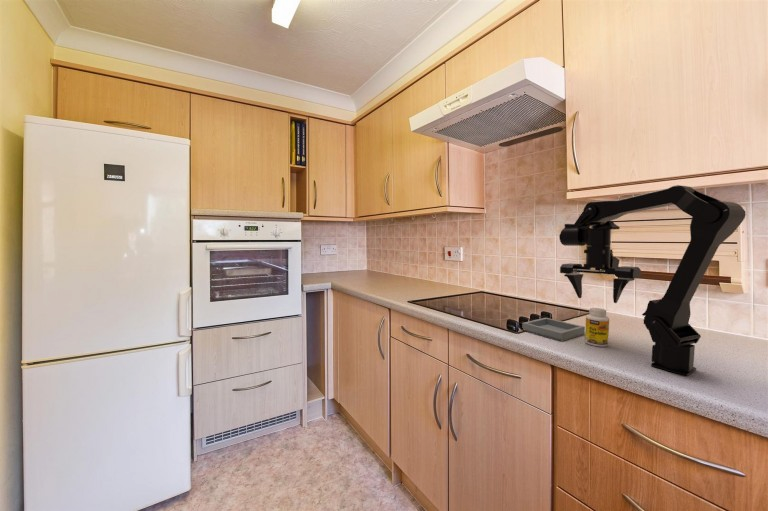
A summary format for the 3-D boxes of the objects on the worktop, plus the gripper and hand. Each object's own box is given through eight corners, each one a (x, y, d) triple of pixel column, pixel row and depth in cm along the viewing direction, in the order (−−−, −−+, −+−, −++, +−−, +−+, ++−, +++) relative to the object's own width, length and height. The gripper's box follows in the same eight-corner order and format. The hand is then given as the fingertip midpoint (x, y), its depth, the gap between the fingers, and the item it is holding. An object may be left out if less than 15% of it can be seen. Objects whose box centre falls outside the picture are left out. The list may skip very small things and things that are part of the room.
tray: (584, 334, 100) (584, 326, 100) (561, 341, 94) (561, 333, 93) (545, 324, 111) (545, 317, 111) (522, 330, 105) (522, 322, 105)
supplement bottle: (585, 345, 90) (586, 310, 90) (584, 339, 95) (585, 306, 95) (609, 348, 88) (610, 312, 87) (606, 342, 92) (608, 308, 92)
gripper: (650, 245, 86) (648, 302, 87) (578, 245, 102) (577, 293, 103) (632, 246, 80) (631, 307, 81) (559, 245, 96) (558, 296, 97)
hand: (596, 300), depth 91 cm, fingers open, 9 cm apart
